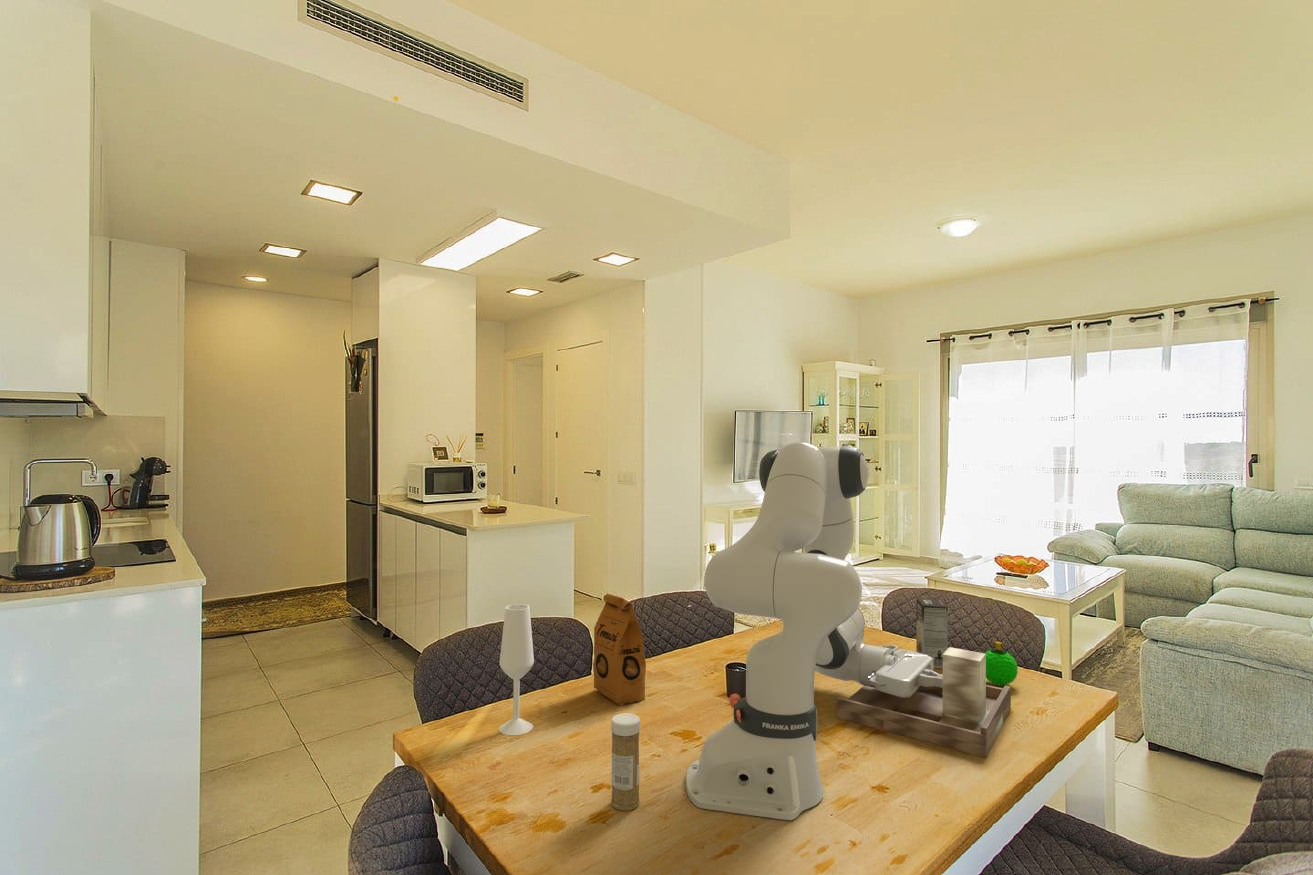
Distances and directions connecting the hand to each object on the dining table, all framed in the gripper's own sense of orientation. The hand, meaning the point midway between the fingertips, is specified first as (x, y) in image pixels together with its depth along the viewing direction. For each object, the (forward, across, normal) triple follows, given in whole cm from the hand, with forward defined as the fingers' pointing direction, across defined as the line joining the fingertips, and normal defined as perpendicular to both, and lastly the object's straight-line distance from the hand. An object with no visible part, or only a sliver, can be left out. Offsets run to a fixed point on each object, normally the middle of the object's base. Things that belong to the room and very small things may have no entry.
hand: (945, 681), depth 134 cm
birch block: (+4, 0, +6) cm, 7 cm away
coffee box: (-11, +35, +8) cm, 38 cm away
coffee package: (-62, -33, +8) cm, 70 cm away
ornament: (+5, +28, +8) cm, 30 cm away
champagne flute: (-67, -58, +8) cm, 89 cm away
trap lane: (-4, 0, +8) cm, 8 cm away
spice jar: (-32, -66, +8) cm, 74 cm away
